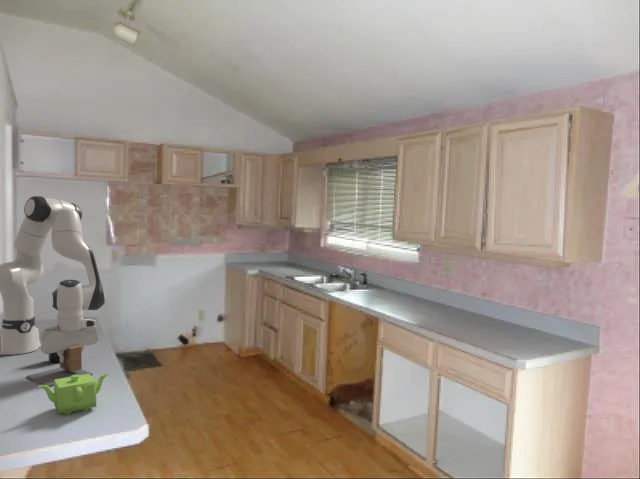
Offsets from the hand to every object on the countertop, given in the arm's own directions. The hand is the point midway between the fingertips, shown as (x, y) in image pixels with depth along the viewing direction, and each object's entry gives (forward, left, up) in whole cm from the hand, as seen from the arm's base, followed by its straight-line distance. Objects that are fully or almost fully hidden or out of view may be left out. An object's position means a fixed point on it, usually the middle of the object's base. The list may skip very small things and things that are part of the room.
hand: (70, 360), depth 182 cm
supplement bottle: (-19, +5, -5) cm, 20 cm away
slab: (0, 0, -3) cm, 3 cm away
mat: (0, -4, -5) cm, 7 cm away
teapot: (+33, -16, -5) cm, 37 cm away
